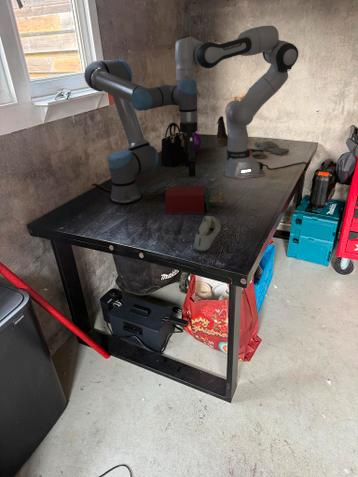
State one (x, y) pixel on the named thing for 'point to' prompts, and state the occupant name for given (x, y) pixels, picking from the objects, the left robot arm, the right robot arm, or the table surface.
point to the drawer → (212, 200)
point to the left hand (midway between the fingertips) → (190, 171)
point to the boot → (221, 133)
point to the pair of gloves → (267, 149)
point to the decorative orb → (196, 141)
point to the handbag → (172, 147)
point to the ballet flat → (206, 233)
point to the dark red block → (185, 199)
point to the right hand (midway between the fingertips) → (186, 106)
